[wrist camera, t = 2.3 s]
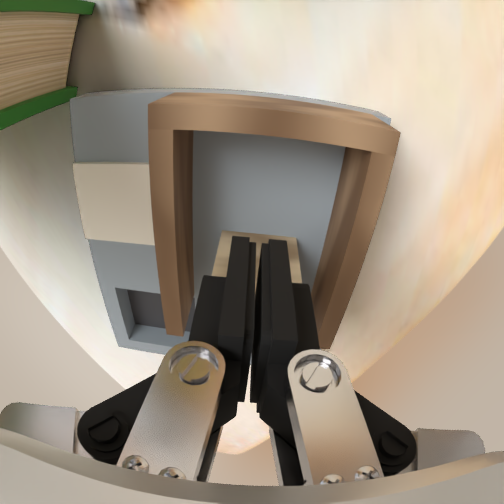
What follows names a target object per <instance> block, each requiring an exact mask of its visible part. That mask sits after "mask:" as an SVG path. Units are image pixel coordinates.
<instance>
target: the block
mask: <svg viewBox="0 0 504 504" xmlns="http://www.w3.org/2000/svg"><path fill="white" fill-rule="evenodd" d="M232 236H242V237H250V242H256V277H255V292H256V284H257V276H258V268H259V260H260V252H261V244H262V243H268V241H269V239H276V240H286V241H287V246H288V254H289V262H290V270H291V279H292V283H302V278H301V270H300V262H299V255H298V247H297V240H296V237H286V236H276V235H266V234H256V233H246V232H235V231H225V230H222V232H221V237H220V241H219V245H218V249H217V254H216V258H215V263H214V267H213V271H212V276H220V277H226V275H227V268H228V261H229V254H230V248H231V241H232Z"/></svg>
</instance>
